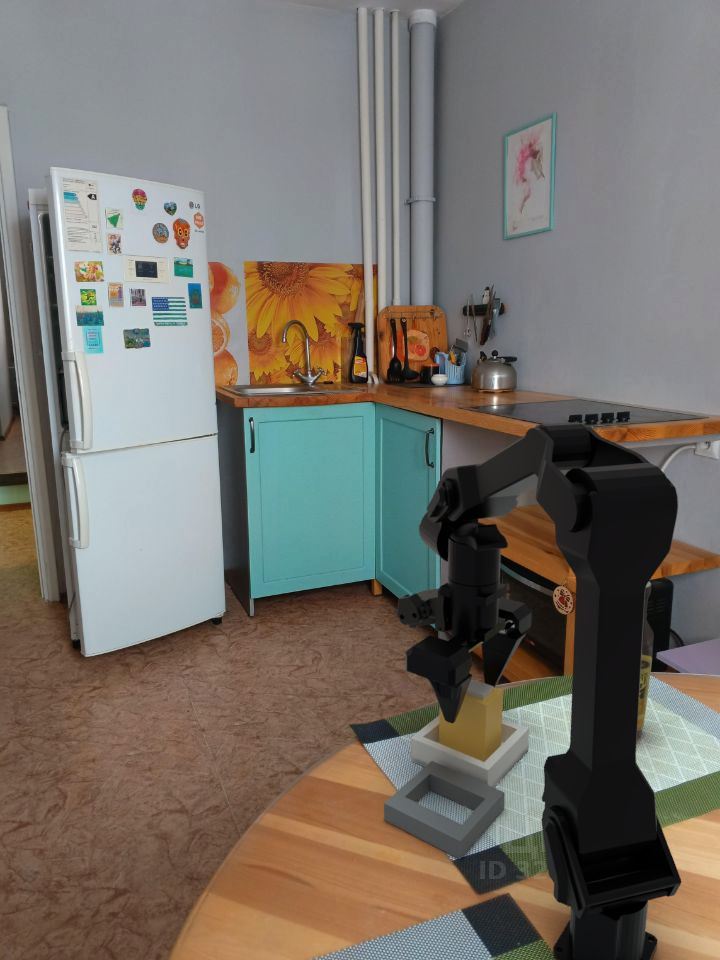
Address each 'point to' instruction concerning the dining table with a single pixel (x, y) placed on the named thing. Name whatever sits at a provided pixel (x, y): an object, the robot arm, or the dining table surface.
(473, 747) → the block
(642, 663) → the sauce bottle
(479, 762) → the tray
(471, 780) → the grey square frame
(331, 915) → the dining table surface
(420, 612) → the robot arm
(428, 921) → the dining table surface
